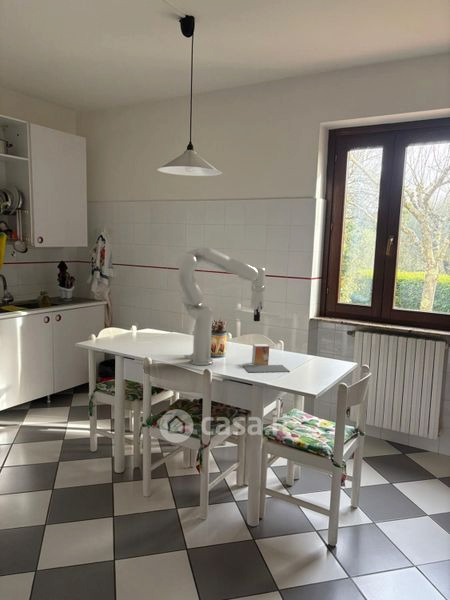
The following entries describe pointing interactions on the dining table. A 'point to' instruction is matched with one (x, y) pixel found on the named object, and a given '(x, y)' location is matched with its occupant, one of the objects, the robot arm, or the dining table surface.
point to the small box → (260, 354)
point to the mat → (265, 368)
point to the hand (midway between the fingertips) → (256, 321)
